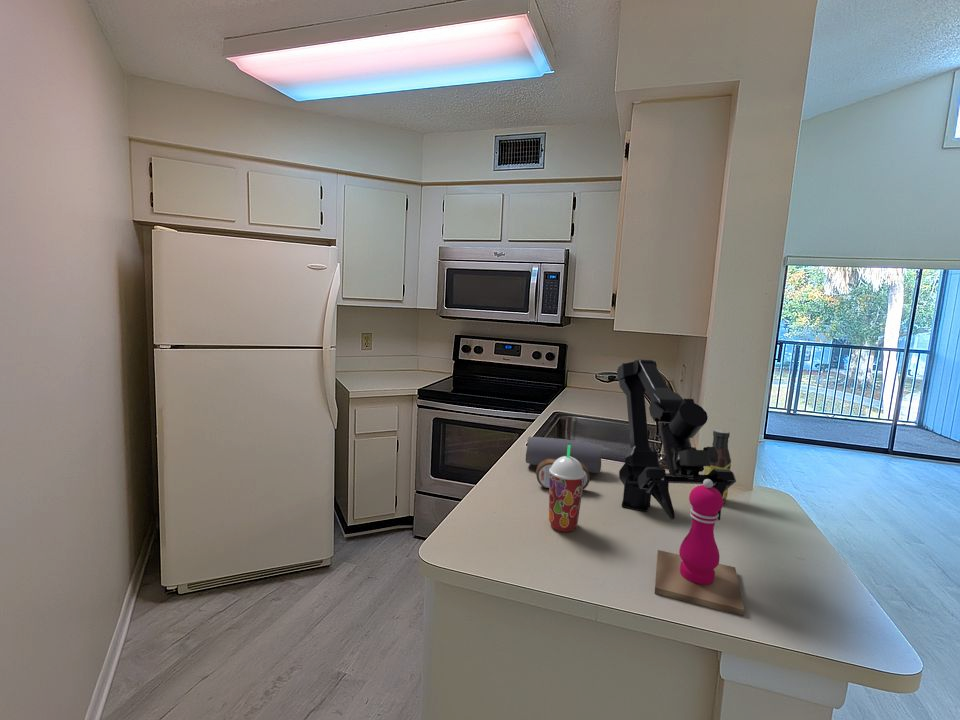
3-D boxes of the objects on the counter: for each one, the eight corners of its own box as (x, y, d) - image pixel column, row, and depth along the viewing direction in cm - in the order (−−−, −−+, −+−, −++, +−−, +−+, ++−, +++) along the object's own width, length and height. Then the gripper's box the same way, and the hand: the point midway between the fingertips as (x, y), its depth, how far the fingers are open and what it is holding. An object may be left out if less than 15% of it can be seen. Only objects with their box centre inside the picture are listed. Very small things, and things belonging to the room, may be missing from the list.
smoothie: (584, 523, 120) (591, 444, 117) (575, 538, 113) (582, 454, 110) (550, 515, 124) (556, 437, 121) (540, 529, 116) (546, 447, 113)
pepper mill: (678, 561, 103) (689, 469, 100) (717, 572, 100) (729, 477, 97) (675, 579, 96) (686, 481, 93) (716, 591, 93) (729, 489, 90)
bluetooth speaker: (599, 470, 157) (602, 439, 156) (599, 480, 148) (602, 448, 147) (528, 461, 162) (530, 431, 161) (524, 470, 153) (526, 439, 152)
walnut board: (654, 593, 93) (655, 587, 93) (657, 555, 107) (658, 549, 107) (743, 616, 88) (744, 609, 88) (734, 572, 102) (735, 567, 102)
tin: (588, 489, 141) (590, 461, 140) (589, 494, 138) (591, 465, 137) (535, 484, 143) (537, 456, 141) (535, 489, 139) (537, 460, 138)
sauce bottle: (729, 506, 134) (738, 436, 131) (704, 503, 135) (713, 433, 132) (722, 497, 141) (731, 429, 138) (699, 494, 142) (707, 427, 139)
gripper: (648, 429, 101) (664, 504, 92) (737, 432, 102) (762, 507, 93) (631, 453, 110) (644, 523, 101) (713, 456, 111) (733, 526, 102)
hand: (695, 519), depth 99 cm, fingers open, 9 cm apart
